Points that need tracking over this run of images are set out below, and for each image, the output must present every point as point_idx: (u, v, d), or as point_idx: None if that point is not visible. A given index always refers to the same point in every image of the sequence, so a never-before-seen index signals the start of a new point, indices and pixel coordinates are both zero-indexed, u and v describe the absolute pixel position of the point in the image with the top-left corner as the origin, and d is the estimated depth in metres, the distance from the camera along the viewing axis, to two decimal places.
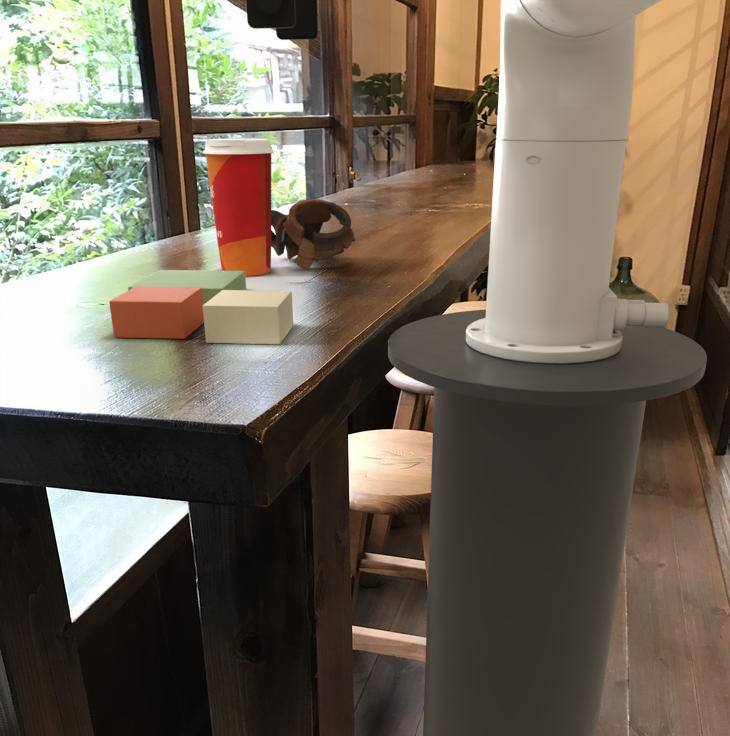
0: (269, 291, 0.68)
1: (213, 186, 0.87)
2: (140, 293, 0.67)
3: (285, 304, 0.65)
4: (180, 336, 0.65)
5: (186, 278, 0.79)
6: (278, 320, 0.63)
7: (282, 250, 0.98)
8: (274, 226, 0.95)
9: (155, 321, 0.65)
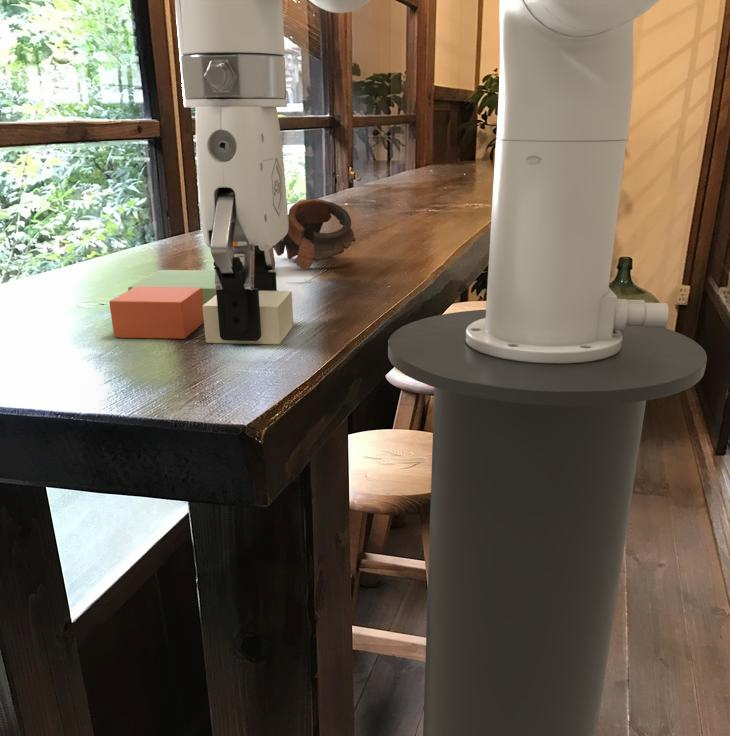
0: (269, 291, 0.68)
1: None
2: (140, 293, 0.67)
3: (285, 304, 0.65)
4: (180, 336, 0.65)
5: (186, 278, 0.79)
6: (278, 320, 0.63)
7: (282, 250, 0.98)
8: None
9: (155, 321, 0.65)
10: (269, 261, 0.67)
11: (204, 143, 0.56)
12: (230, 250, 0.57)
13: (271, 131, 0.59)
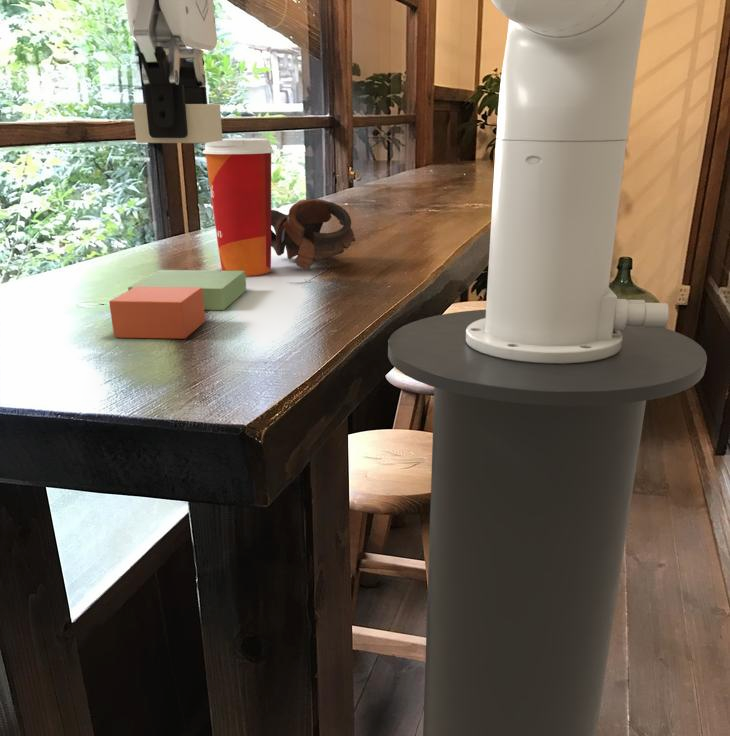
0: None
1: (213, 186, 0.87)
2: (140, 293, 0.67)
3: (211, 110, 0.70)
4: (180, 336, 0.65)
5: (186, 278, 0.79)
6: (202, 118, 0.68)
7: (282, 250, 0.98)
8: (274, 226, 0.95)
9: (155, 321, 0.65)
10: (199, 75, 0.72)
11: None
12: (152, 35, 0.62)
13: None
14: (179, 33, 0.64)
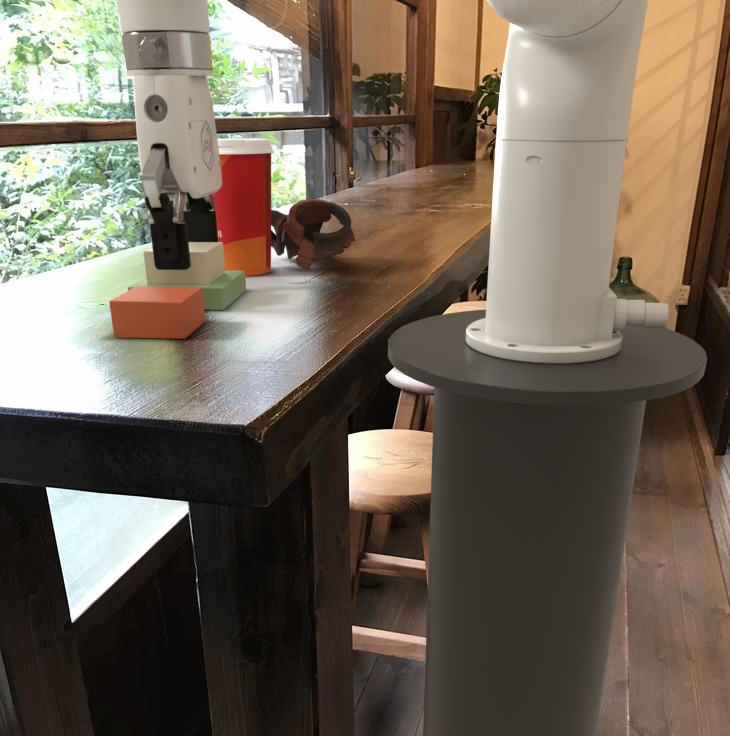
0: (203, 242, 0.79)
1: None
2: (140, 293, 0.67)
3: (215, 252, 0.77)
4: (180, 336, 0.65)
5: None
6: (207, 264, 0.75)
7: (282, 250, 0.98)
8: (274, 226, 0.95)
9: (155, 321, 0.65)
10: (209, 203, 0.80)
11: (141, 106, 0.68)
12: (158, 181, 0.67)
13: (199, 97, 0.71)
14: (188, 190, 0.70)
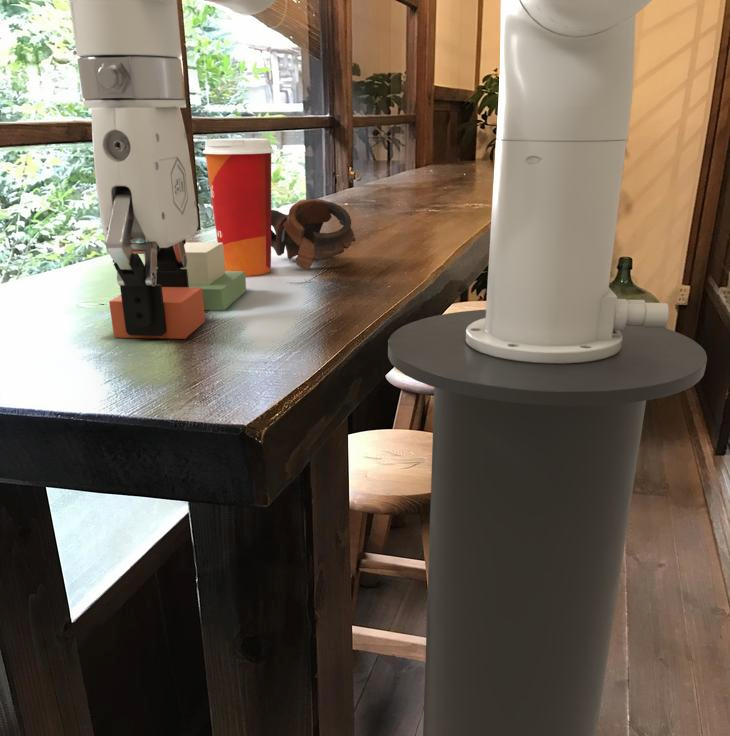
0: (203, 243, 0.80)
1: (213, 186, 0.87)
2: None
3: (215, 252, 0.77)
4: (180, 336, 0.65)
5: None
6: (207, 264, 0.75)
7: (282, 250, 0.98)
8: (274, 226, 0.95)
9: None
10: (180, 258, 0.69)
11: (100, 143, 0.58)
12: (126, 247, 0.59)
13: (169, 131, 0.61)
14: (155, 240, 0.60)
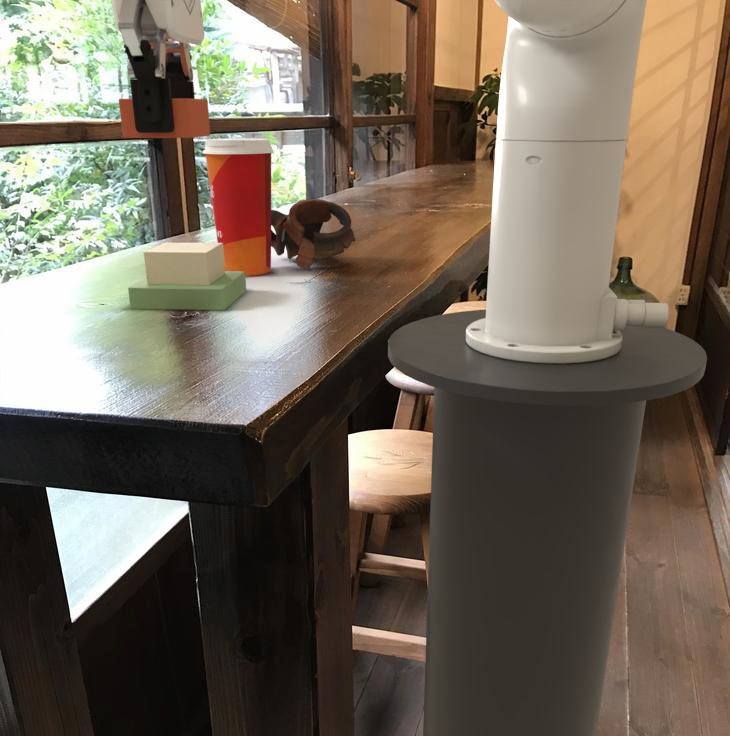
0: (203, 243, 0.79)
1: (213, 186, 0.87)
2: None
3: (215, 252, 0.77)
4: (187, 135, 0.68)
5: None
6: (207, 264, 0.75)
7: (282, 250, 0.98)
8: (274, 226, 0.95)
9: None
10: (186, 69, 0.72)
11: None
12: (137, 28, 0.61)
13: None
14: (165, 26, 0.63)
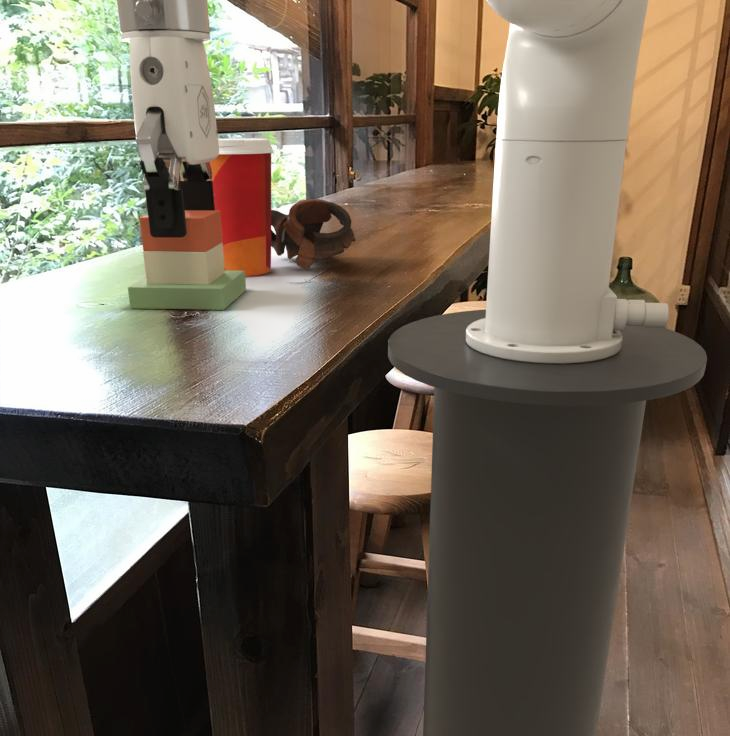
0: None
1: (213, 186, 0.87)
2: None
3: (214, 252, 0.77)
4: (201, 249, 0.74)
5: None
6: (206, 264, 0.75)
7: (282, 250, 0.98)
8: (274, 226, 0.95)
9: None
10: (206, 173, 0.79)
11: (136, 68, 0.67)
12: (154, 144, 0.66)
13: (196, 61, 0.69)
14: (184, 155, 0.69)
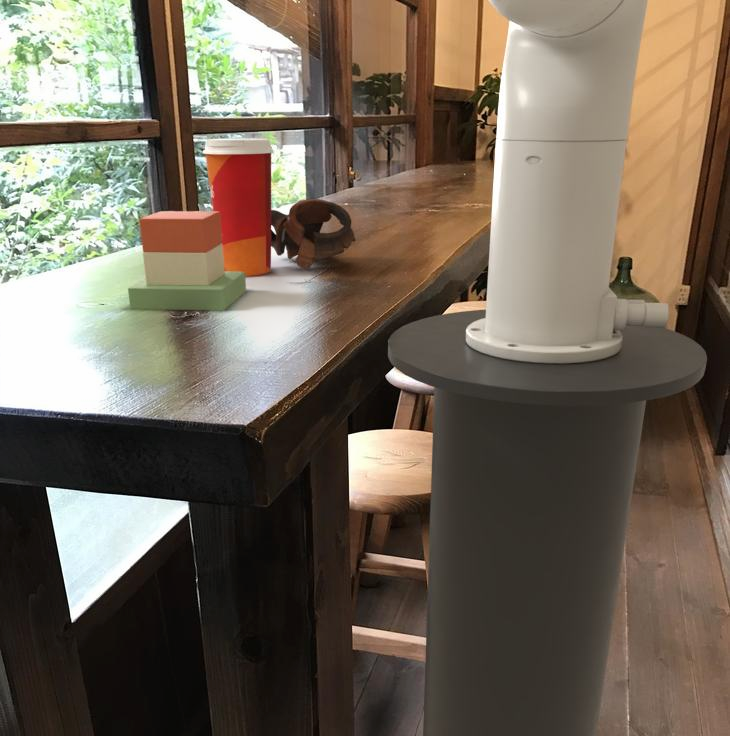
0: None
1: (213, 186, 0.87)
2: (165, 214, 0.76)
3: (214, 253, 0.77)
4: (201, 250, 0.74)
5: None
6: (206, 265, 0.75)
7: (282, 250, 0.98)
8: (274, 226, 0.95)
9: (179, 237, 0.74)
10: None
11: None
12: None
13: None
14: None
